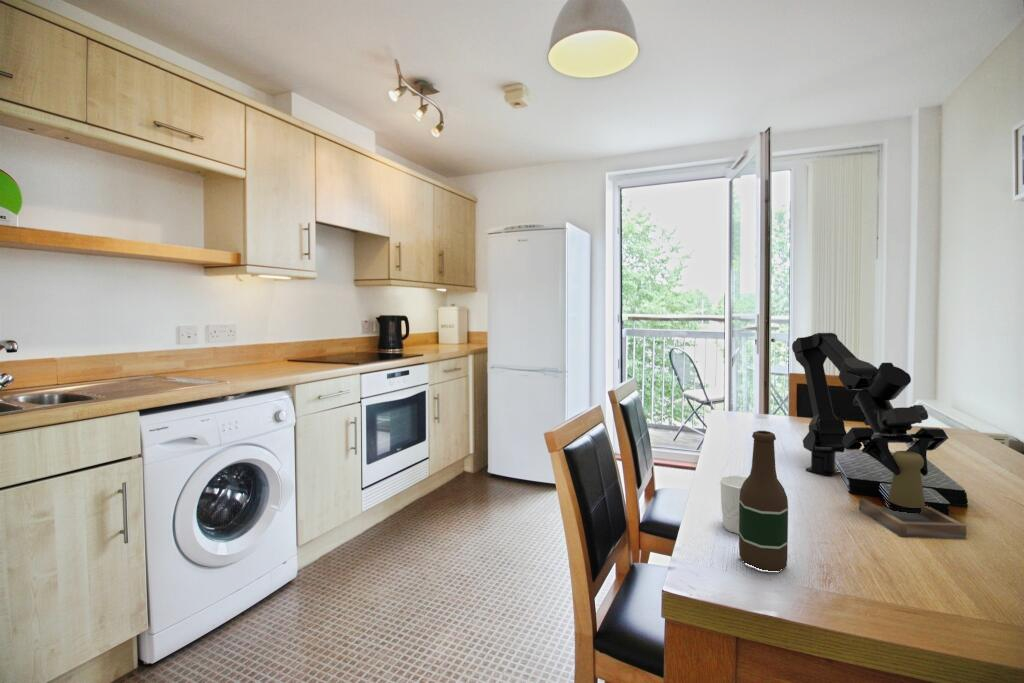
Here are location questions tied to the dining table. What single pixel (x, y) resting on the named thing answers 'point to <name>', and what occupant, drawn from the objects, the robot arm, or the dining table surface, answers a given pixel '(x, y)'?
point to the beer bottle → (763, 510)
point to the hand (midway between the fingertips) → (911, 474)
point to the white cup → (731, 501)
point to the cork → (907, 480)
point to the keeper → (915, 522)
